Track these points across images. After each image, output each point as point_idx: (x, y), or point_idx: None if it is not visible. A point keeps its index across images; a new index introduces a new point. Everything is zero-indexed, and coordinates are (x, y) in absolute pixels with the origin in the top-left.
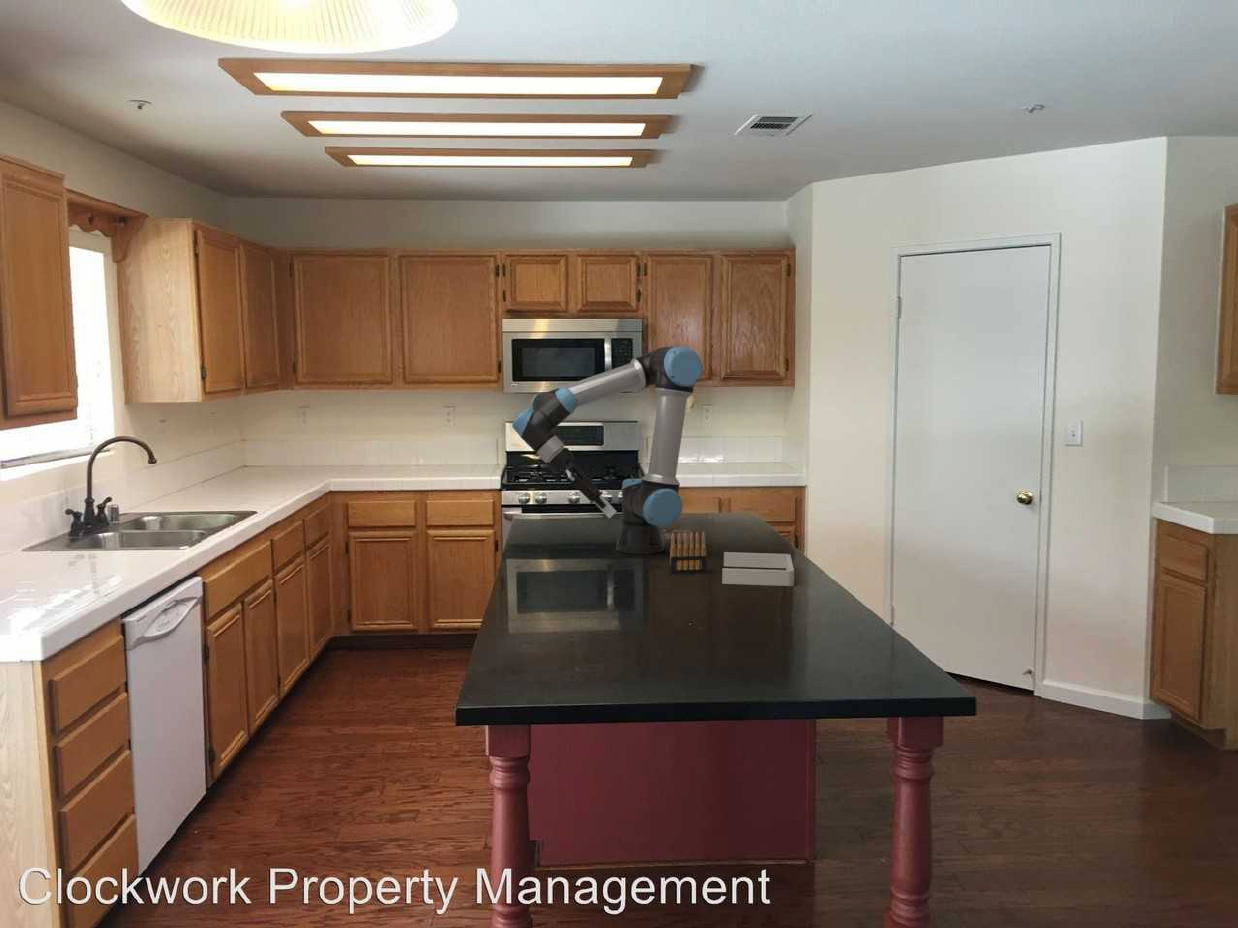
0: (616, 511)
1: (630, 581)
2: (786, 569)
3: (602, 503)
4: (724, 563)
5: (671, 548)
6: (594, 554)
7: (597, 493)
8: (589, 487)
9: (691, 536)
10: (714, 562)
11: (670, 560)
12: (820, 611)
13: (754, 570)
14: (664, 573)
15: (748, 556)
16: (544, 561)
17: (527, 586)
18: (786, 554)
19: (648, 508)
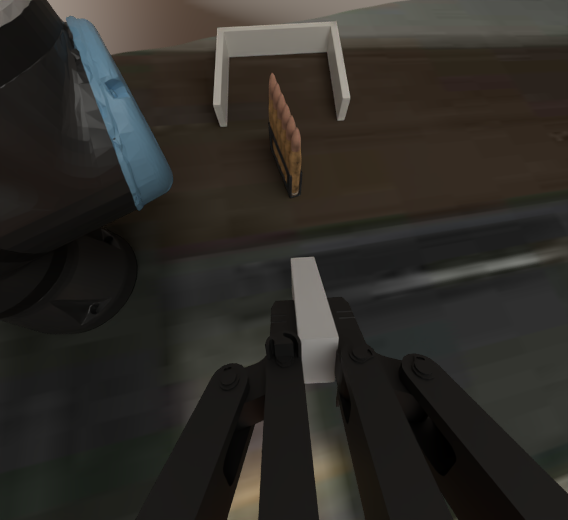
0: (296, 258)
1: (371, 251)
2: (247, 53)
3: (350, 315)
4: (225, 121)
5: (300, 160)
6: (134, 377)
7: (347, 364)
8: (492, 473)
9: (285, 103)
10: (199, 140)
11: (298, 179)
12: (444, 25)
13: (343, 61)
14: (295, 204)
15: (223, 78)
16: None
17: None
18: (220, 31)
19: (160, 165)
